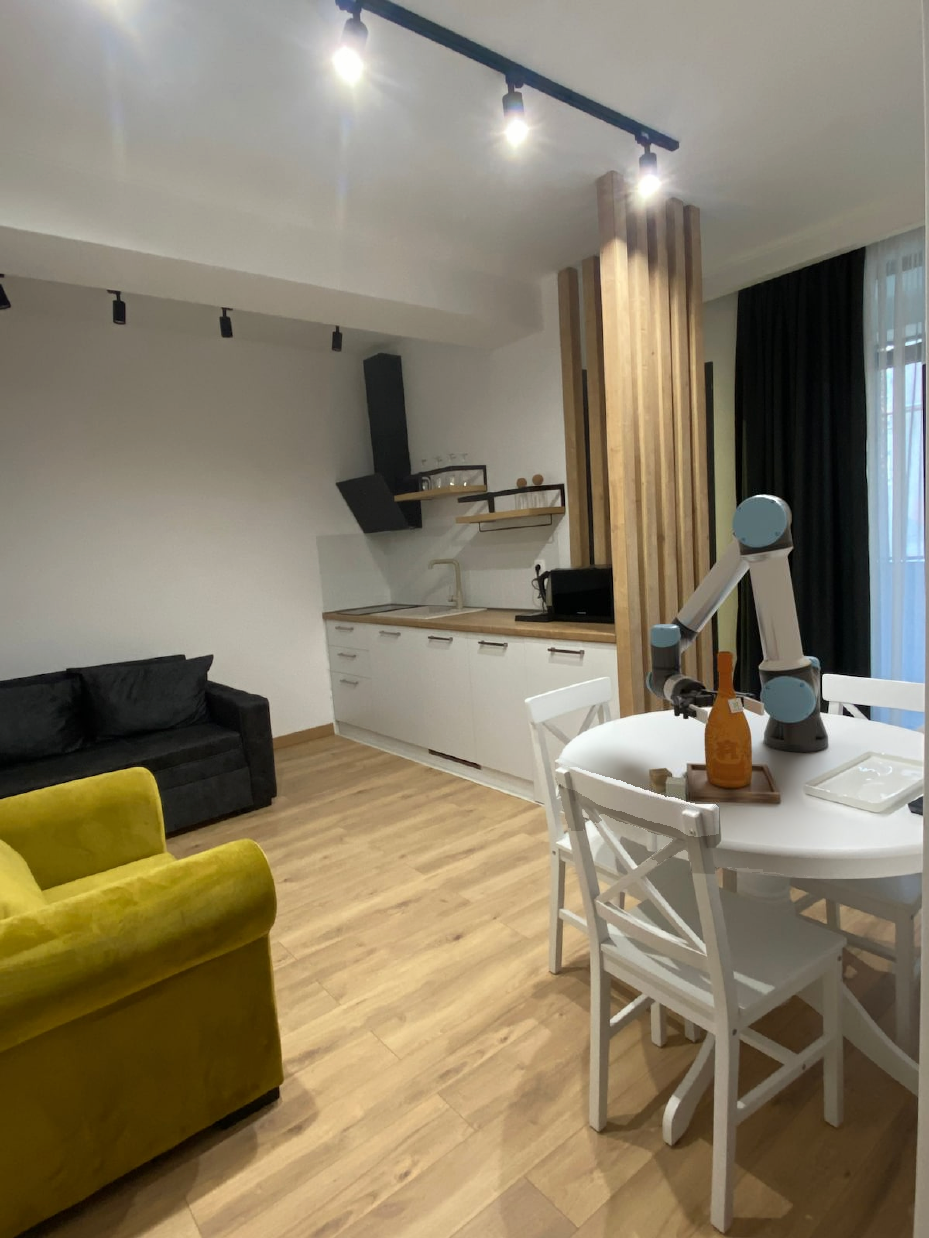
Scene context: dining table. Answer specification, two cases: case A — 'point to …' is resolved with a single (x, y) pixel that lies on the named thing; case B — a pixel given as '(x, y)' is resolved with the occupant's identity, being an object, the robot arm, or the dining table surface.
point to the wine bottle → (727, 734)
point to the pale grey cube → (676, 787)
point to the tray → (754, 792)
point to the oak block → (659, 779)
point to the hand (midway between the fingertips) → (734, 713)
